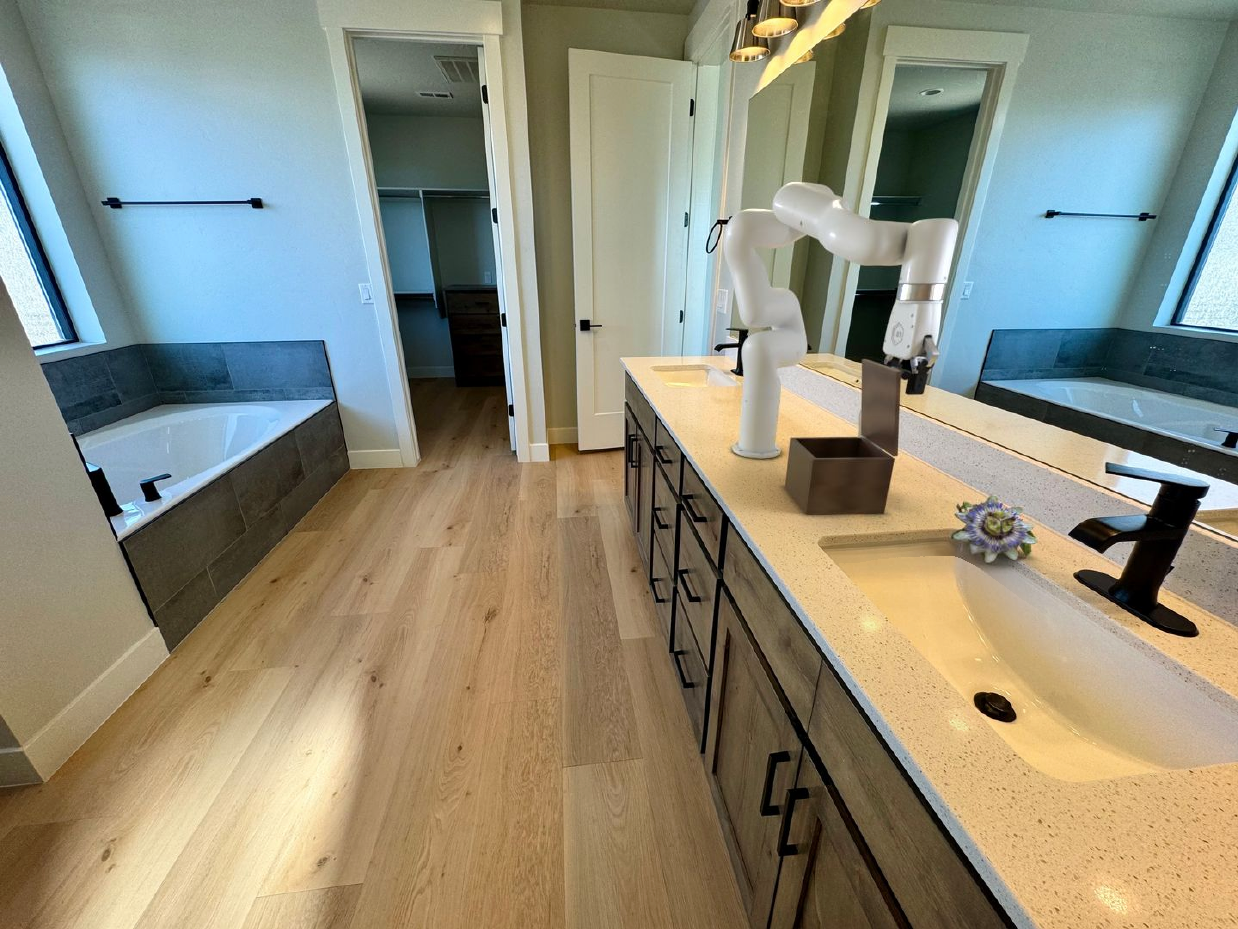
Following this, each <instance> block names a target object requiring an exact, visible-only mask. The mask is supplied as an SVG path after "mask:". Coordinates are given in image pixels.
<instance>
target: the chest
mask: <svg viewBox="0 0 1238 929" xmlns="http://www.w3.org/2000/svg"><path fill="white" fill-rule="evenodd" d="M895 461H896V458H895V457H894V456H892V455H891V454H889V453H888V452H886V451H885V450H882V449H880V448H879V447H877V446H876V445H874V444H873V443H871V442H870V441H868V440H867V439H865V438H864V437H858V436H814V437H813V436H807V437H806V436H805V437H801V436H800V437H799V436H798V437H790V440H789V447H788V456H787V462H786V463H787V464H786V473H785V479H784V480H785V481H784V488H785V489H786V491H787V492H788V493H789V495H790V496H791V497H792V499H793V500H794V501H795V503H796V504H797V505H798V506H799V508H800V509H801V510H802V512H803V513H804V515H809V516H811V515H812V516H813V515H883V514H885V512H886V511H885V510H886V505H887V502H888V495H889V492H890V486H891V480H892V476H893V471H894V467H895Z"/></svg>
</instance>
